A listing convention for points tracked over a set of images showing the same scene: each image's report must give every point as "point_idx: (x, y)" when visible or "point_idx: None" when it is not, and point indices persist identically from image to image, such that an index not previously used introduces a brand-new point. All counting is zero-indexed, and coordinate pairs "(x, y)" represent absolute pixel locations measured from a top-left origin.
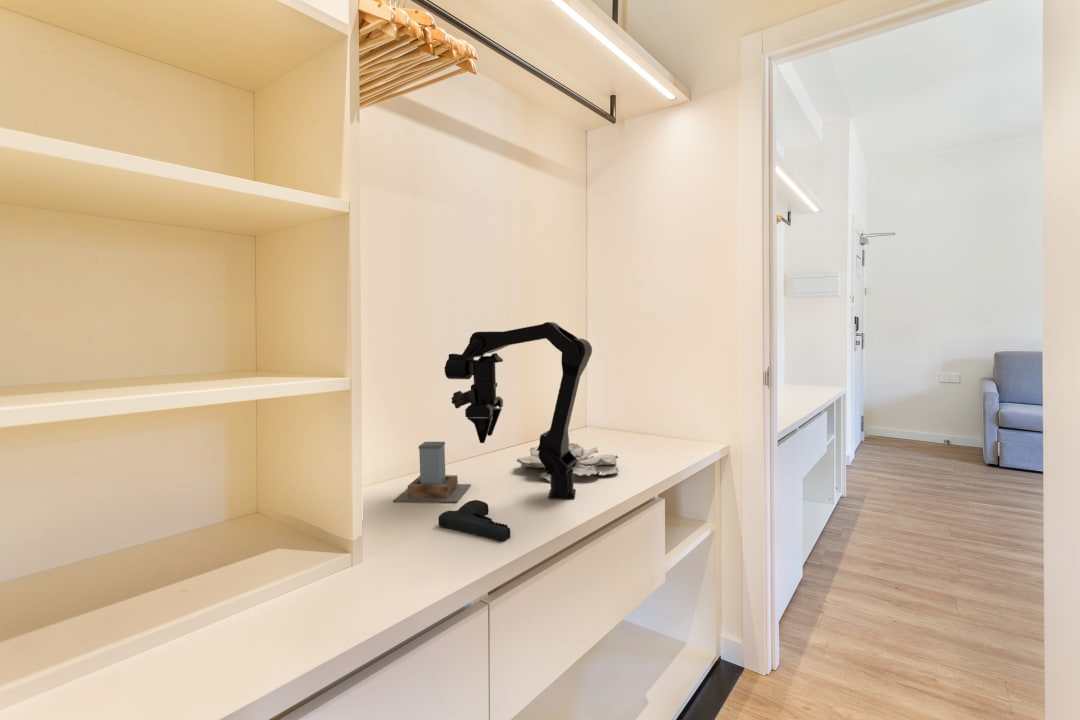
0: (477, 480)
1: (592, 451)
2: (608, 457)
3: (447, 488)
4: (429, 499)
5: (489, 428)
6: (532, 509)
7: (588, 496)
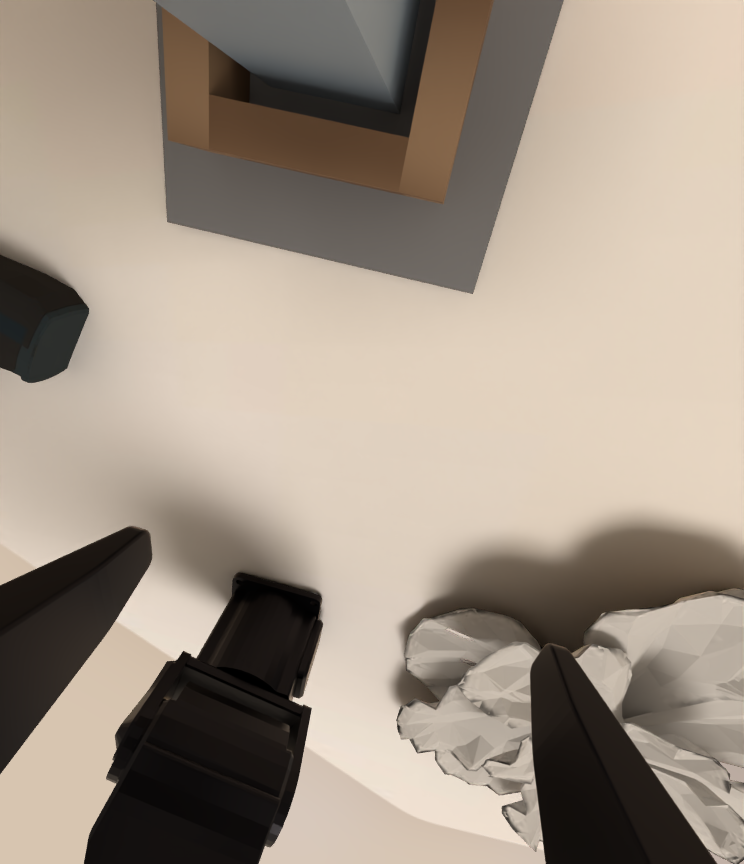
0: (578, 333)
1: None
2: None
3: (192, 146)
4: None
5: (563, 761)
6: (138, 511)
7: None
